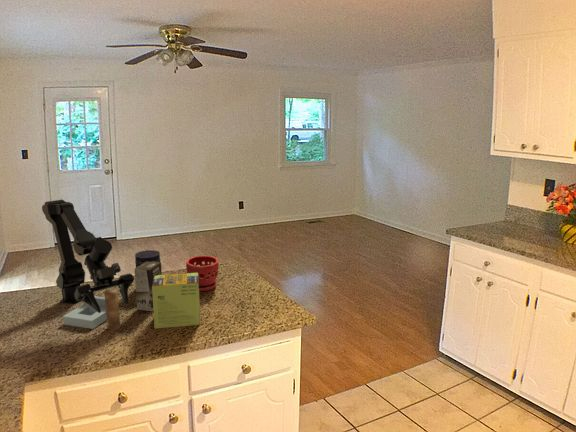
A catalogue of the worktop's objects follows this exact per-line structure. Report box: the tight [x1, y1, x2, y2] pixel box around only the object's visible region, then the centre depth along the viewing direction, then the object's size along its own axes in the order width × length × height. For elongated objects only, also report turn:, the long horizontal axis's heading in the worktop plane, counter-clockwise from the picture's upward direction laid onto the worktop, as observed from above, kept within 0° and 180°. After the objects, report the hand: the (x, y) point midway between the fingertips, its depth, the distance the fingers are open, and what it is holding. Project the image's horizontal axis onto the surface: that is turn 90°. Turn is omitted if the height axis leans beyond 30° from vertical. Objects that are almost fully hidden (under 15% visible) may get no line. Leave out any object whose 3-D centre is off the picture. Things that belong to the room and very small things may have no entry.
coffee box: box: [134, 261, 163, 312], centre depth 166 cm, size 9×6×16 cm
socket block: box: [62, 295, 107, 330], centre depth 155 cm, size 12×12×6 cm
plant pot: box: [185, 255, 219, 292], centre depth 184 cm, size 13×13×12 cm
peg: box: [104, 288, 121, 331], centre depth 149 cm, size 4×4×13 cm
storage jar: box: [134, 249, 161, 268], centre depth 182 cm, size 10×10×15 cm
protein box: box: [152, 272, 201, 329], centre depth 154 cm, size 10×15×16 cm
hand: (113, 308), depth 148 cm, fingers open, 9 cm apart
